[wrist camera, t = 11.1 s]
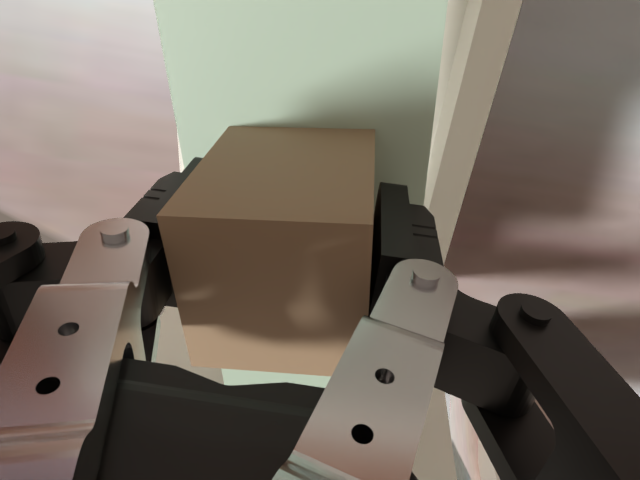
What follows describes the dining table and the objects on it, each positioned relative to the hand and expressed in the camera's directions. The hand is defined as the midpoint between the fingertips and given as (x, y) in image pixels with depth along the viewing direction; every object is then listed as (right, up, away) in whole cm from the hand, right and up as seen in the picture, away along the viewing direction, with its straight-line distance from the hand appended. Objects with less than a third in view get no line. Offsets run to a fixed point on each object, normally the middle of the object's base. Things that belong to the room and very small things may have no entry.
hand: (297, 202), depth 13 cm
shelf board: (0, +1, +3) cm, 3 cm away
